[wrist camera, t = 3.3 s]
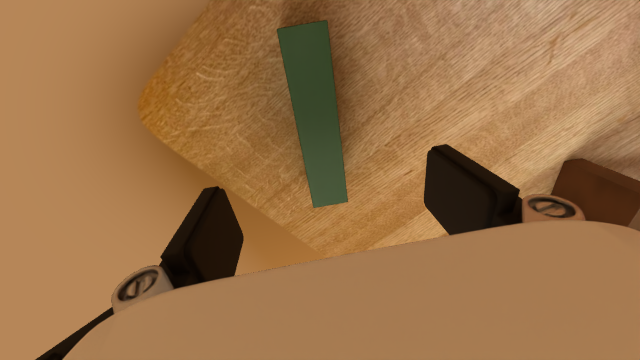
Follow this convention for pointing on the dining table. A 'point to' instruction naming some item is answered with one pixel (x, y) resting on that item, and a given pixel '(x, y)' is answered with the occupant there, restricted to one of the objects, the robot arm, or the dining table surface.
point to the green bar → (315, 108)
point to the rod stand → (600, 193)
